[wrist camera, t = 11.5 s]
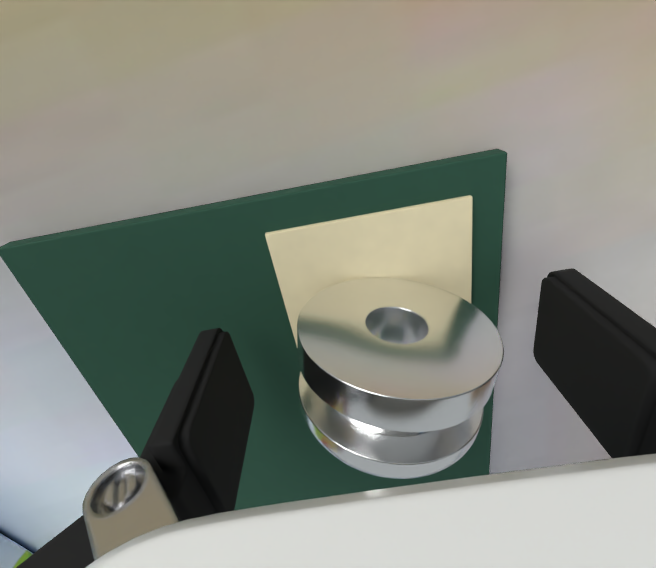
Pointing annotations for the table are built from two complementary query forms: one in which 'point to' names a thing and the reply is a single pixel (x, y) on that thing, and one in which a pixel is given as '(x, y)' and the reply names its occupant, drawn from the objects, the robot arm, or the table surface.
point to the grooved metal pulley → (395, 374)
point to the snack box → (12, 553)
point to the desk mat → (264, 299)
